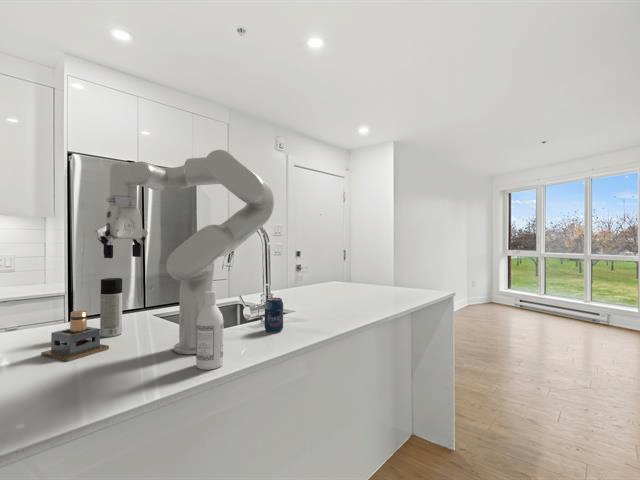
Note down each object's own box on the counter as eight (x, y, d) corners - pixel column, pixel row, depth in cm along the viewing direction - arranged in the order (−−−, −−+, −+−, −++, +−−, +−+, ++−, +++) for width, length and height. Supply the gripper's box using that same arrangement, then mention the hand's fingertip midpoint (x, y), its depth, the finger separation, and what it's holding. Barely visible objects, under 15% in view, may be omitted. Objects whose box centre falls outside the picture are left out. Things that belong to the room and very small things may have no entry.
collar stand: (108, 349, 105) (109, 328, 105) (67, 361, 94) (67, 338, 94) (83, 344, 110) (83, 324, 110) (41, 355, 99) (41, 333, 99)
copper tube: (88, 347, 103) (90, 311, 103) (75, 351, 100) (76, 313, 100) (79, 345, 105) (80, 310, 105) (65, 349, 101) (67, 312, 101)
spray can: (126, 332, 124) (126, 277, 124) (113, 338, 117) (113, 279, 117) (109, 332, 124) (109, 277, 124) (95, 337, 118) (95, 279, 118)
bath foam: (213, 359, 97) (214, 289, 97) (228, 365, 92) (228, 291, 92) (191, 366, 91) (191, 291, 91) (205, 372, 87) (205, 294, 87)
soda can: (268, 334, 123) (268, 301, 123) (261, 329, 129) (262, 298, 129) (286, 331, 126) (286, 299, 126) (278, 327, 132) (278, 296, 132)
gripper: (105, 199, 98) (104, 259, 98) (154, 205, 114) (154, 256, 114) (87, 200, 101) (87, 258, 101) (138, 206, 117) (138, 256, 117)
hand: (123, 257), depth 107 cm, fingers open, 9 cm apart
